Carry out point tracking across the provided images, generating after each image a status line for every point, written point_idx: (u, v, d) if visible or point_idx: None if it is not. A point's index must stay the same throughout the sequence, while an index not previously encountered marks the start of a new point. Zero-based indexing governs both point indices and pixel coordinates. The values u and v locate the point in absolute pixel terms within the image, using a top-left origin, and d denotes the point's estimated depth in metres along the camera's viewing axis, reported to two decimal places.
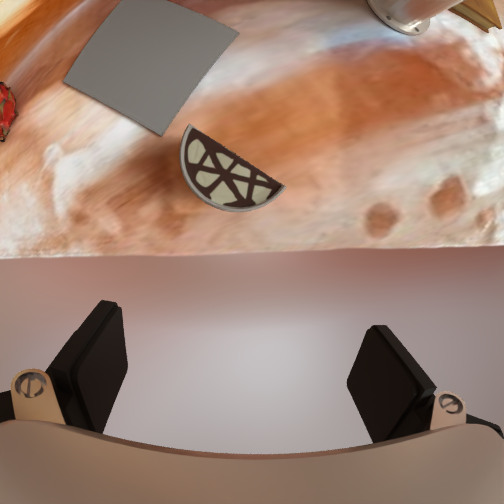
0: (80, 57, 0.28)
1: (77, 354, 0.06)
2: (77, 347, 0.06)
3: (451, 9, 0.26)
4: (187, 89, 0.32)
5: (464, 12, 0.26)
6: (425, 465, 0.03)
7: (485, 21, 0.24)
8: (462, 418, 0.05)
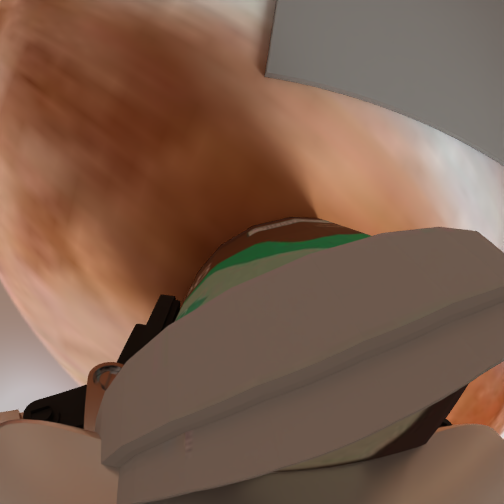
0: None
1: None
2: None
3: None
4: (425, 107, 0.09)
5: None
6: (425, 465, 0.03)
7: None
8: None
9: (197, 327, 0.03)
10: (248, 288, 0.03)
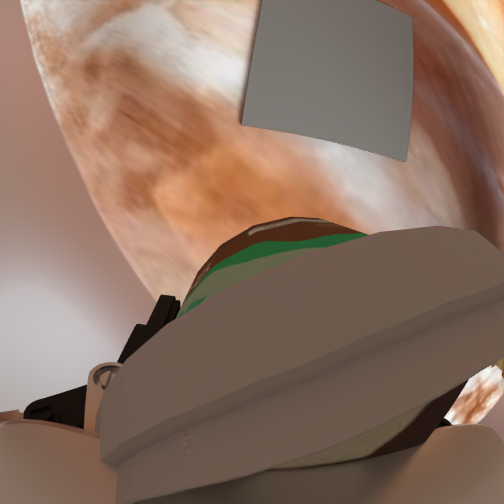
0: None
1: None
2: None
3: None
4: (316, 131, 0.25)
5: None
6: (425, 465, 0.03)
7: (502, 362, 0.39)
8: None
9: (196, 325, 0.03)
10: (247, 286, 0.03)
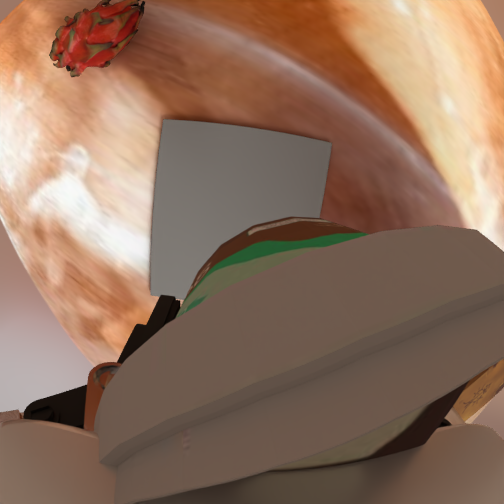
0: (204, 127, 0.27)
1: None
2: None
3: None
4: None
5: None
6: (425, 465, 0.03)
7: None
8: None
9: (196, 325, 0.03)
10: (247, 286, 0.03)
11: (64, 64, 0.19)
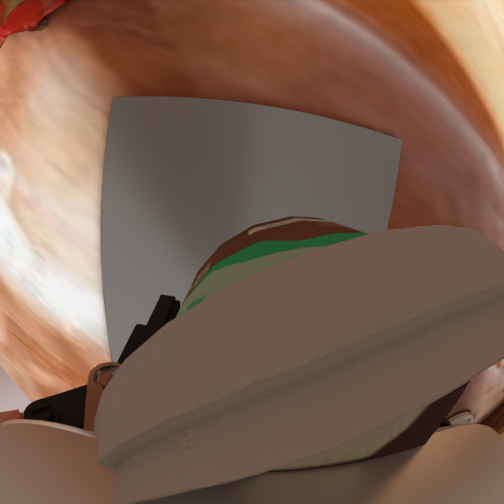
0: (183, 105, 0.14)
1: None
2: None
3: None
4: None
5: None
6: (425, 465, 0.03)
7: None
8: None
9: (196, 324, 0.03)
10: (247, 285, 0.03)
11: None
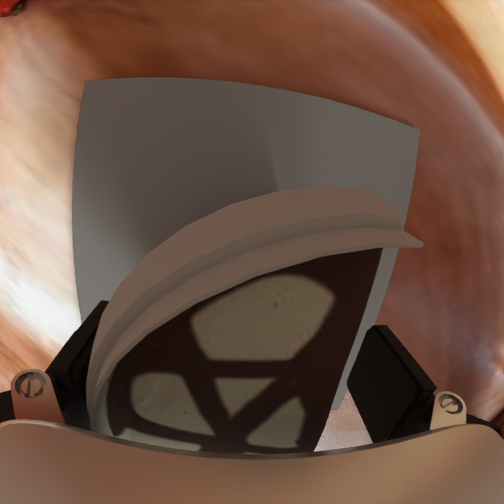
0: (164, 87, 0.11)
1: (77, 355, 0.06)
2: (77, 347, 0.06)
3: None
4: None
5: None
6: (425, 465, 0.03)
7: None
8: (462, 418, 0.05)
9: (163, 249, 0.05)
10: (194, 225, 0.05)
11: None
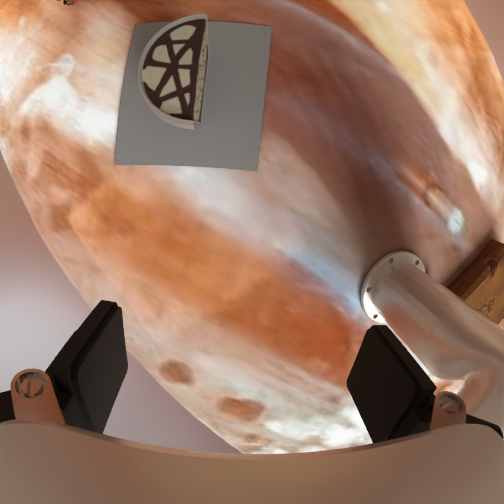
0: (167, 24, 0.26)
1: (77, 354, 0.06)
2: (77, 347, 0.06)
3: None
4: (168, 160, 0.32)
5: None
6: (425, 465, 0.03)
7: None
8: (462, 418, 0.05)
9: None
10: None
11: None
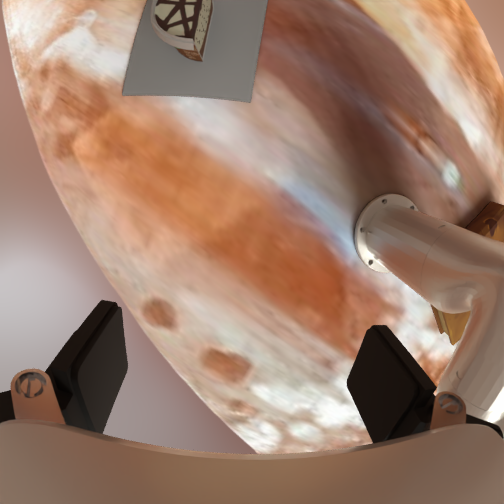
0: None
1: (77, 354, 0.06)
2: (77, 347, 0.06)
3: None
4: (170, 90, 0.32)
5: None
6: (425, 465, 0.03)
7: (447, 328, 0.45)
8: (462, 418, 0.05)
9: None
10: None
11: None
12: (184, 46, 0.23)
